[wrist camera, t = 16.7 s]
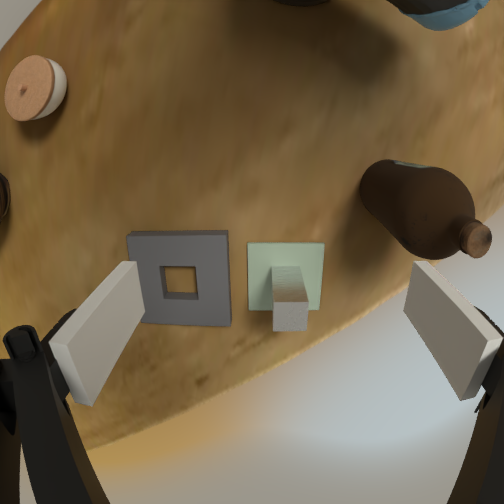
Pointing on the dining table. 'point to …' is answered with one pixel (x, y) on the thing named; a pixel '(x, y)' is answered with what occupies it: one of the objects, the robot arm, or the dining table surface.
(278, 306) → the metal peg
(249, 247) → the green mat
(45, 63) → the lidded jar
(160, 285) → the pocket block
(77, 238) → the dining table surface
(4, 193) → the ceramic jug
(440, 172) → the olive oil
